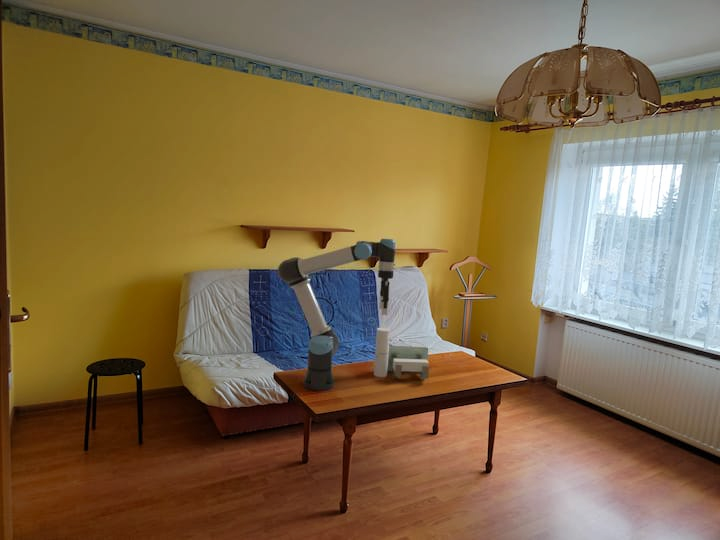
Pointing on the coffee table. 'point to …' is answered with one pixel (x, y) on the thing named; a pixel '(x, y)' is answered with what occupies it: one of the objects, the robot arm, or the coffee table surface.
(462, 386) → the coffee table surface
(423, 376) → the cup bracket
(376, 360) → the cylindrical container
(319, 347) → the robot arm
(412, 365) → the rail
